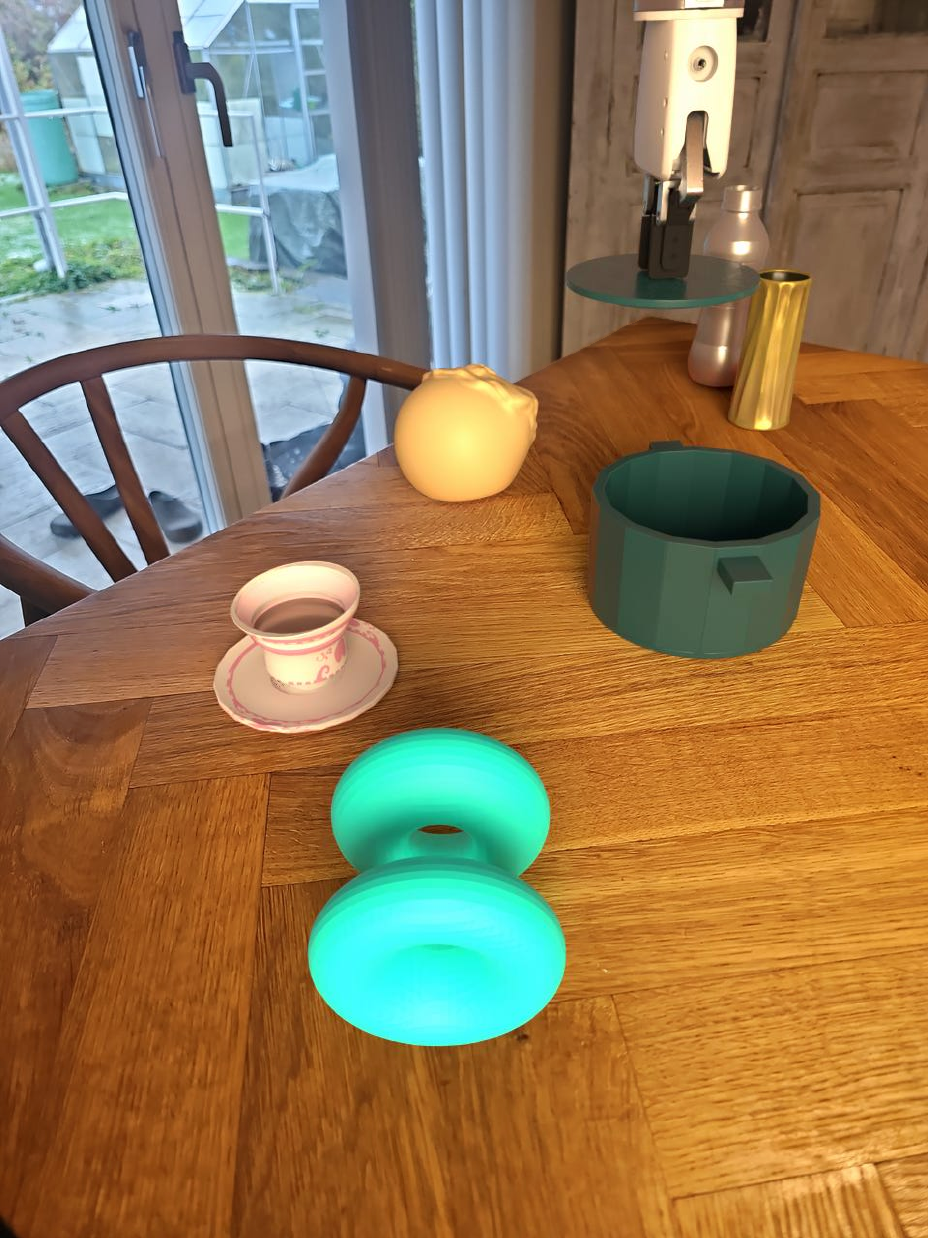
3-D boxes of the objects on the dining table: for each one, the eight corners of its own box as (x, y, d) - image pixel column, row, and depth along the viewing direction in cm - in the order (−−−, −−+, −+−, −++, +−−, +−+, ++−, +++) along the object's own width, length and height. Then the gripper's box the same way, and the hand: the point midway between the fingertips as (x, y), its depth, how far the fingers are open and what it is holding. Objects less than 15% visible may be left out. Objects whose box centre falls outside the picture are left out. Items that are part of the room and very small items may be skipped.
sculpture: (554, 478, 78) (557, 362, 72) (471, 530, 70) (467, 405, 64) (458, 448, 84) (454, 338, 78) (373, 493, 77) (361, 376, 70)
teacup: (348, 755, 49) (335, 673, 46) (176, 713, 53) (151, 633, 49) (427, 638, 58) (421, 561, 55) (275, 608, 62) (260, 534, 58)
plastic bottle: (698, 369, 100) (723, 180, 88) (754, 380, 97) (788, 185, 85) (675, 386, 96) (698, 190, 84) (733, 398, 92) (765, 195, 81)
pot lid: (723, 262, 77) (732, 193, 74) (787, 310, 64) (803, 229, 61) (552, 271, 76) (554, 201, 73) (583, 321, 64) (587, 239, 60)
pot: (742, 524, 70) (759, 426, 65) (847, 677, 53) (881, 562, 49) (566, 535, 69) (570, 437, 64) (618, 693, 53) (629, 578, 48)
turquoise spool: (321, 1062, 35) (283, 913, 29) (347, 864, 43) (322, 716, 37) (564, 1058, 35) (575, 906, 29) (544, 859, 43) (550, 710, 37)
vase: (746, 404, 91) (770, 263, 82) (800, 419, 87) (830, 273, 79) (715, 421, 87) (736, 276, 79) (769, 437, 84) (798, 286, 75)
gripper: (786, -12, 52) (739, 296, 63) (708, -6, 66) (680, 249, 76) (666, -8, 52) (639, 301, 63) (612, -2, 65) (597, 253, 76)
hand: (662, 270), depth 69 cm, fingers closed on pot lid, 2 cm apart
